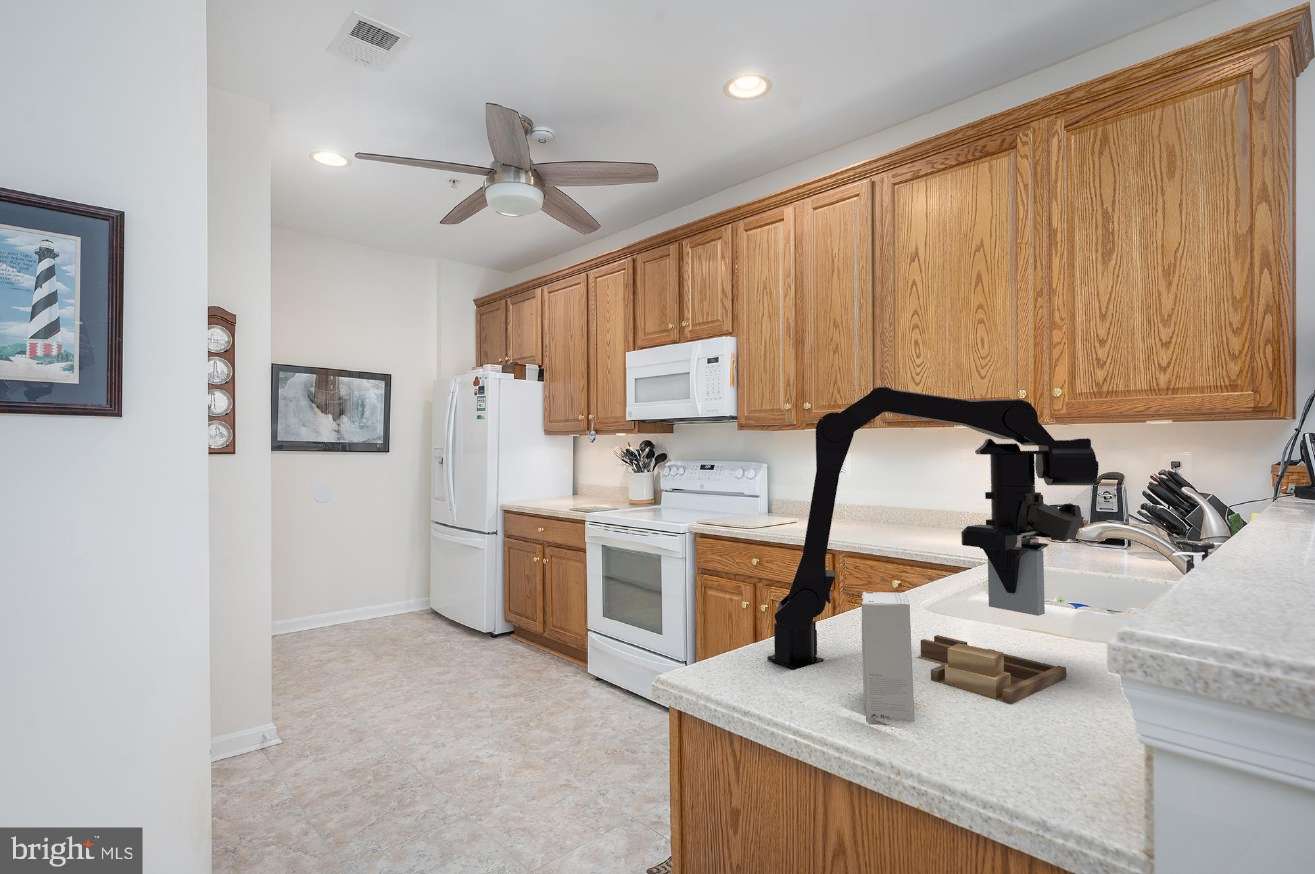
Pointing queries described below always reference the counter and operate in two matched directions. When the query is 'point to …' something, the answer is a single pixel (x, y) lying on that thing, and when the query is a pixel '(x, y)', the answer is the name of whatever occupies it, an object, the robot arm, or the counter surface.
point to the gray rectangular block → (1020, 586)
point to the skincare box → (887, 657)
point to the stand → (937, 649)
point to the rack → (1018, 677)
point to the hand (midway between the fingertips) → (1015, 591)
